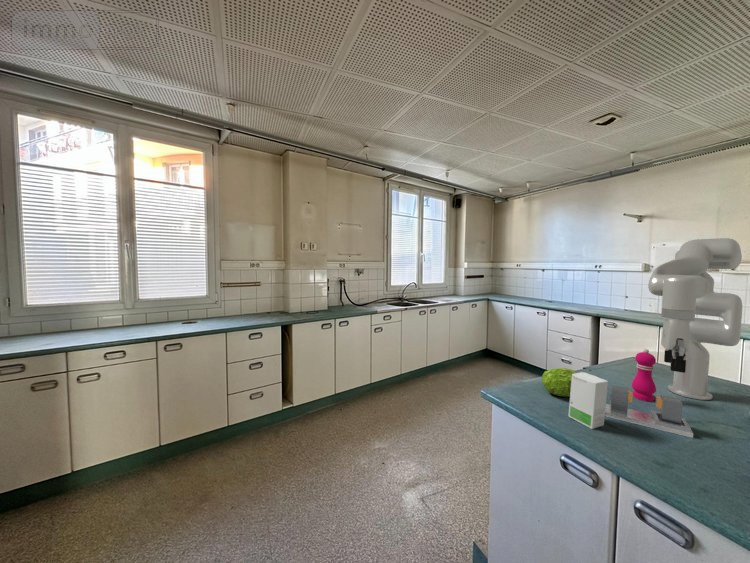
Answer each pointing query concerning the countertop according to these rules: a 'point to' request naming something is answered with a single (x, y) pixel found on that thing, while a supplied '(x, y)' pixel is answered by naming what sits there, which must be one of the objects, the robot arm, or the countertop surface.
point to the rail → (640, 414)
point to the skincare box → (588, 399)
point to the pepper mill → (644, 377)
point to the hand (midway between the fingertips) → (674, 366)
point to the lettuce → (558, 381)
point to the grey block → (669, 409)
